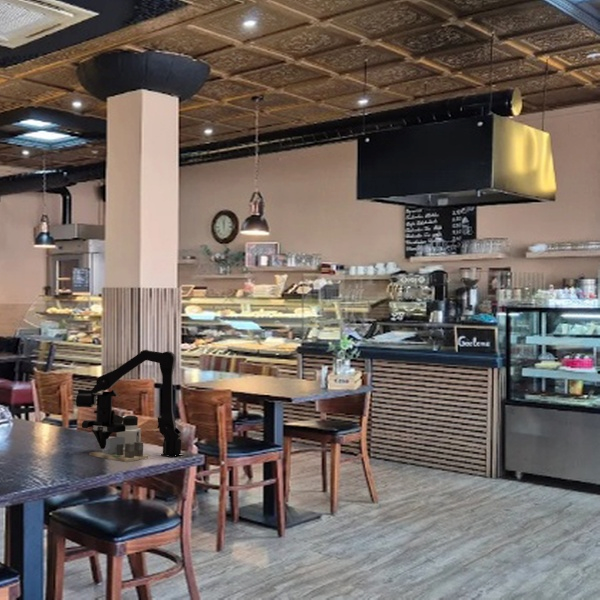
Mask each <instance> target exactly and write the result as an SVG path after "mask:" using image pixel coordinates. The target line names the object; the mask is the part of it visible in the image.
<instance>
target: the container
mask: <svg viewBox="0 0 600 600" xmlns="http://www.w3.org/2000/svg"><path fill="white" fill-rule="evenodd" d="M122 417H123V418H124V419H123V423H122V424H124V425H125V426H126V430H125V431H124V432H116V438H118V437H124V438H125V444H126V443H132V444H134V442H141V441H142V439H141V438H142V436H141V435H142V428H140V427H138V423H139V421H138V420H139V418H138V416H136V415H129V414H128V415H123V416H122ZM124 448H125V447H124Z"/></svg>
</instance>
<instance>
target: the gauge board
mask: <svg viewBox="0 0 600 600" xmlns="http://www.w3.org/2000/svg"><path fill="white" fill-rule="evenodd" d="M89 456H91V457H97V458H102V459H107V460H112V461H113V460H114V461H119V462H125V463H129V462H134V461H139V459H141V460H146V459H145V458H147V459H149V455H147V454H144V442H134V444H132V443H126V444H125V452H123V455H122V456H118V455H117V453H115V454H106V453H102V450H100V451H92V452H89Z"/></svg>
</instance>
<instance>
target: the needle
mask: <svg viewBox="0 0 600 600" xmlns="http://www.w3.org/2000/svg"><path fill="white" fill-rule="evenodd" d="M117 455H118V456H122V455H123V444H117Z"/></svg>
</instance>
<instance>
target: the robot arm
mask: <svg viewBox="0 0 600 600" xmlns="http://www.w3.org/2000/svg"><path fill="white" fill-rule="evenodd" d="M176 357H177V356H176V355H175V353H174V352H172V351H163V352H159V351H154V350H149V349H143V350H141V351H140V352H139V353H138V354H136V355H134V356H133V357H132V358H130V359H129V360H128V361H125V363H123V364H121V365H120V366H119V367H117V368H115V369H114V370H112V371H109V372H107V373H105V374H103V375H101V376H100V375H99V377H98V378H97V379H96V384H95V386H93V387H92V389H82V388H79V389H78V390H77V394H76V398H75V405H76V407H77V408H93V406H95V405H96V410H93V413H94V414H96V415H95V416H96V417H95V419H84V420H83V421H82V422H81V429H88V428H92V430H91V432H93V435H94V437H95V438H96V440H97V443H98V445H99V446H100V447H99V448H100V449H101V450H103V449H106V439H110V437H111V435H112V434H113V433H114V434H115V433H116V434H117V432H124V431H125V430H126V426H125V425H124V424H122V423H123V419H124V418H123V416H121V415H118V414H115V412H116V411H115V410H114V409H113V397H118V395H119V394H118V393H117V392H116V391H115V389H111V388H113V387H114V386H115V385H116V384H117V382H119V381H120V379H121V378H122V377H124V376H126V375H127V374H128V373H130V372H131V371H133V370H134V369H135V368H137V367H138V366H140V365H142V364H143V363H144V362H146V361H147V362H153V363H157V364H159V369H160V372H161V379H162V380H161V382H162V383H161V388H162V389H161V392H162V394H161V397H162V398H161V399H162V401H161V402H162V405H161V406H162V411H161V415H159V416H158V417H157V429H158V430H159V433H160V434H161V436H163V442H162V453H160V454H161V455H160V456H163V455H169V456H175V455H179V454H182V439H181V435H182V431H180V430H179V428H177V423H176V418H175V414H174V410H173V409H174V407H173V405H174V403H173V401H174V400H173V392H174V391H173V388H174V387H173V383H174V382H173V374H174V370H175V364H176ZM109 389H111V391H109ZM99 392H102V393H99ZM169 456H168V457H169ZM175 457H176V456H175Z"/></svg>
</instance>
